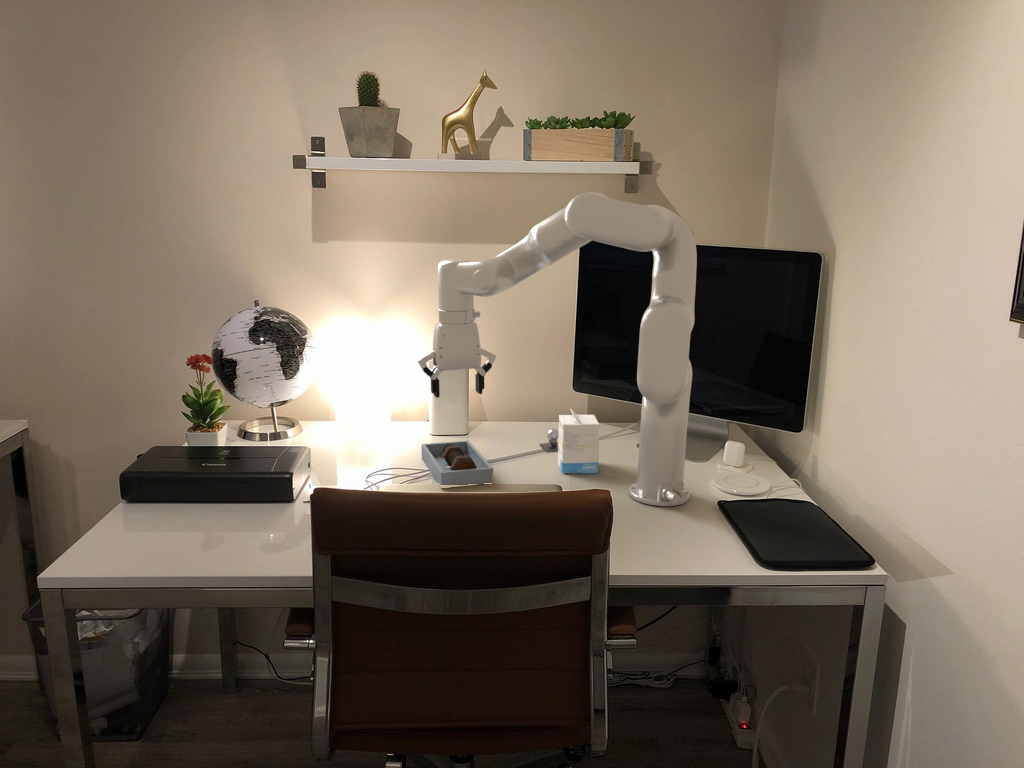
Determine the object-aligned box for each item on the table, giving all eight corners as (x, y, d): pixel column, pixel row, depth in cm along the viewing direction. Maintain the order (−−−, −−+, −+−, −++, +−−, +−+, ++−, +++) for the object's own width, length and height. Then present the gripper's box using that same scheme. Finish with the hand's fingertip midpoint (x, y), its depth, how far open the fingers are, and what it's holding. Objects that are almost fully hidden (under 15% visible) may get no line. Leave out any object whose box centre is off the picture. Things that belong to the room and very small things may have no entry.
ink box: (598, 474, 187) (601, 416, 184) (561, 474, 186) (563, 417, 183) (592, 461, 195) (594, 406, 192) (557, 461, 194) (558, 406, 191)
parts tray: (492, 484, 179) (492, 468, 178) (441, 488, 176) (441, 472, 175) (468, 454, 198) (468, 440, 197) (421, 458, 195) (421, 444, 194)
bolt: (452, 465, 194) (467, 485, 180) (433, 456, 192) (448, 476, 178) (464, 443, 194) (480, 462, 180) (445, 434, 192) (461, 452, 178)
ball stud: (565, 450, 203) (566, 430, 202) (546, 452, 201) (547, 432, 200) (558, 444, 207) (559, 425, 206) (539, 445, 206) (540, 426, 205)
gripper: (490, 313, 185) (490, 387, 189) (413, 317, 180) (415, 393, 184) (499, 317, 178) (500, 395, 182) (420, 322, 173) (422, 401, 177)
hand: (457, 394), depth 183 cm, fingers open, 9 cm apart
